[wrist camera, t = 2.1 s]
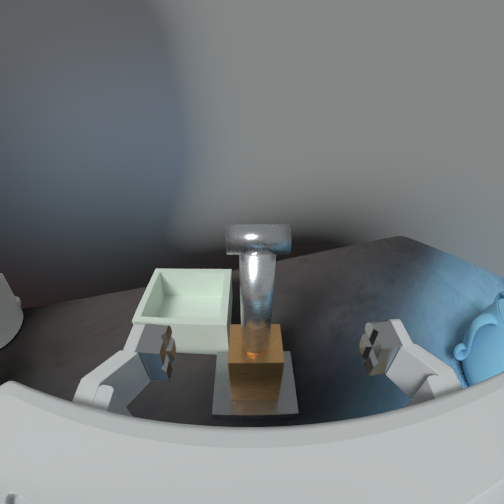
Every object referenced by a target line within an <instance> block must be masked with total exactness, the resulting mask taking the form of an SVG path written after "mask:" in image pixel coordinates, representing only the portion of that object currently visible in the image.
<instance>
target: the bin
mask: <svg viewBox="0 0 504 504" xmlns="http://www.w3.org/2000/svg"><path fill="white" fill-rule="evenodd" d="M232 299H233V296H232V272H231V269H156V270H155V272H154V274H153V276H152V278H151V280H150V282H149V284H148V286H147V288H146V290H145V293H144V295H143V297H142V299H141V301H140V304H139V306H138V308H137V310H136V313H135V315H134V317H133V320H132V322H133V325H134V324H135V323H145V324H158V325H169V326H171V329H172V335H171V337H172V338H173V339H174V340H175V345H176V352H179V353H196V354H217V352H229V338H230V324H231V314H232Z"/></svg>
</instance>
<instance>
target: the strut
mask: <svg viewBox="0 0 504 504" xmlns="http://www.w3.org/2000/svg"><path fill="white" fill-rule="evenodd" d="M225 241H226V254H239V257H240V259H239V260H240V306H241V324H230V338H229V354H228V369H229V379H230V389H231V399H232V400H267V399H279V394H280V388H281V382H282V375H283V369H284V354H283V346H282V338H281V330H280V324H271V322H272V308H273V293H274V277H275V261H276V254H289V253H290V250H291V229H290V225H288V224H287V225H286V224H284V225H283V224H227V225H226V238H225Z"/></svg>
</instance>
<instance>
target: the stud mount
mask: <svg viewBox="0 0 504 504" xmlns="http://www.w3.org/2000/svg"><path fill="white" fill-rule="evenodd" d="M228 354H229V352H217V363H216V374H215V385H214V396H213V408H212V416H213V419H280V418H296V417H298V414H299V412H298V404H297V396H296V389H295V382H294V374H293V367H292V360H291V353H290V351H283V354H284V369H283V375H282V382H281V388H280V394H279V399H267V400H232V399H231V389H230V379H229V369H228Z"/></svg>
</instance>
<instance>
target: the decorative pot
mask: <svg viewBox="0 0 504 504" xmlns="http://www.w3.org/2000/svg"><path fill="white" fill-rule="evenodd" d="M453 356H454V358H455V359H457V360H460V361H461V360H462V365H463V370H464V374H465V377H466V379H467V382H468V384H469V386H471V385H474V384H476V383H479V382H481V381H483V380H486V379H488V378H490V377H492V376H494V375H497V374H499V373H501V372H503V371H504V292H500V293H499V294H498V295H497V296H496V298H495V301H494V303H493V304H492V305H490V306H489V307H488V308H486V309H485V310H484V311H483V312H481V313H480V314H479V315H478V316H477V317H476V318H475V319H474V320H473V321H472V322H471V324H470V326H469V327H468V329H467V330H466V332H465V334H464V337H463V342H462V343H460V344H458V345H456V346H455V347H454V350H453Z"/></svg>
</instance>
